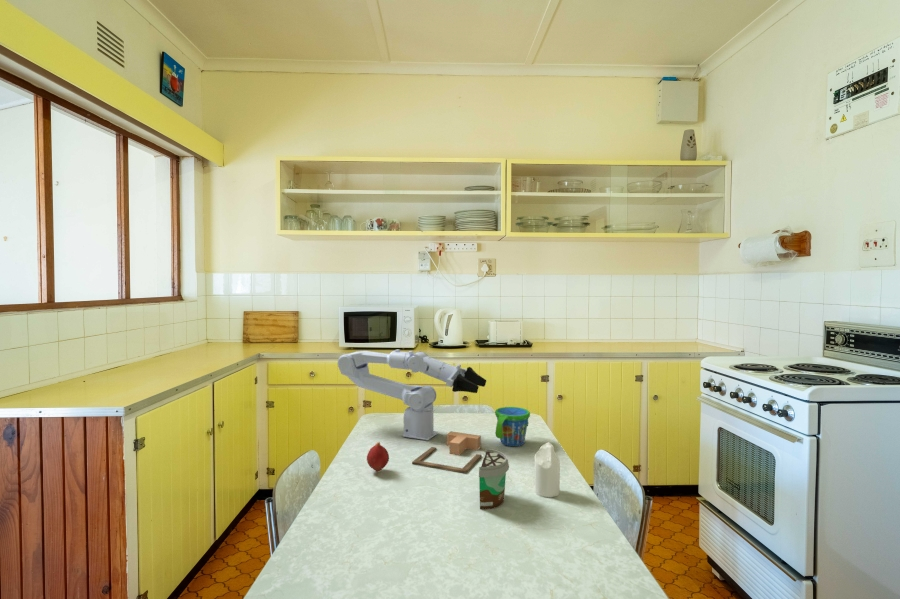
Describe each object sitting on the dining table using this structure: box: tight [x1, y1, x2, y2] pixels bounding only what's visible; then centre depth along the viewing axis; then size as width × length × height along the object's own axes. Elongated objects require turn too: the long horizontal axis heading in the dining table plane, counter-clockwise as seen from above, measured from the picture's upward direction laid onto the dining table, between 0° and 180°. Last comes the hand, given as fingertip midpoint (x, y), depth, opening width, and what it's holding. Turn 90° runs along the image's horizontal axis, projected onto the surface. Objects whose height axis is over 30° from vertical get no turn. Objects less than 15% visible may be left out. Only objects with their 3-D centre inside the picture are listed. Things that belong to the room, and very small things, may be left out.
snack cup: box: [494, 406, 531, 447], centre depth 145 cm, size 16×10×10 cm
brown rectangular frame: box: [411, 446, 483, 475], centre depth 132 cm, size 16×12×1 cm
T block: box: [446, 431, 482, 456], centre depth 140 cm, size 9×10×4 cm
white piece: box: [534, 441, 561, 498], centre depth 112 cm, size 6×12×6 cm
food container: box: [478, 448, 510, 510], centre depth 108 cm, size 12×6×10 cm, turn 168°
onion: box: [366, 441, 390, 473], centre depth 124 cm, size 6×6×8 cm
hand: (481, 386), depth 144 cm, fingers open, 7 cm apart
